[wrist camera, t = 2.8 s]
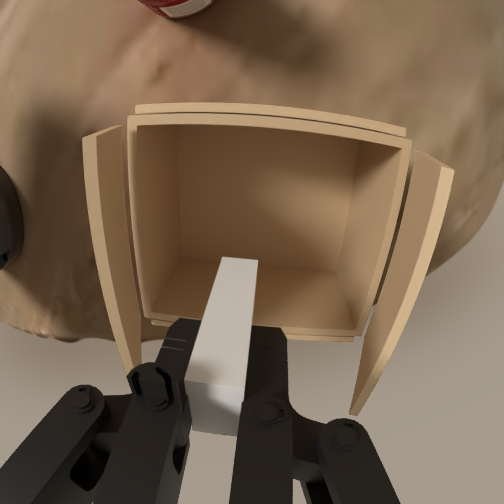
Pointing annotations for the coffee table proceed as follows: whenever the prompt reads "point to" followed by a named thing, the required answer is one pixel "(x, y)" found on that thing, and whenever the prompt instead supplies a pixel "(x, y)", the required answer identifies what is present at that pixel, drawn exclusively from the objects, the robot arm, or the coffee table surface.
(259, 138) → the carton
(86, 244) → the coffee table surface
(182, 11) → the soda can
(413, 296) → the flap
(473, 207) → the coffee table surface
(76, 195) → the coffee table surface
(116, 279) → the flap
